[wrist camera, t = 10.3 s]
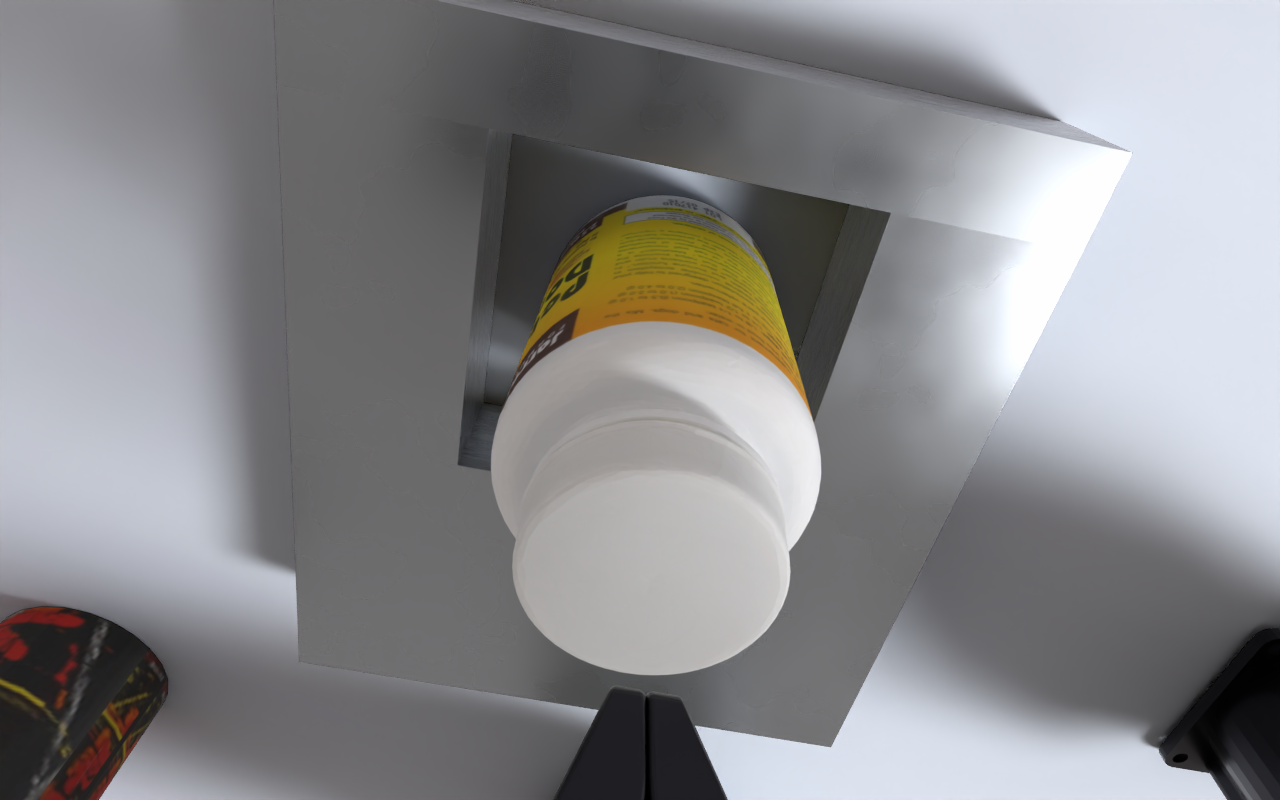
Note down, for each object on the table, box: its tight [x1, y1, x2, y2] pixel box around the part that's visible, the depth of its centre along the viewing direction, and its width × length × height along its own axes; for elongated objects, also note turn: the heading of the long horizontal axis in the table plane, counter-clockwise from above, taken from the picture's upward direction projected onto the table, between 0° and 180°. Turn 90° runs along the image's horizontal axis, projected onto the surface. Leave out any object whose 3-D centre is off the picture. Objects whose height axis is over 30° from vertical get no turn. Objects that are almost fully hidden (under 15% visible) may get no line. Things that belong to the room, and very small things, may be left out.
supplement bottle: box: [491, 195, 821, 675], centre depth 15 cm, size 6×6×10 cm
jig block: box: [273, 0, 1132, 747], centre depth 20 cm, size 18×16×3 cm
